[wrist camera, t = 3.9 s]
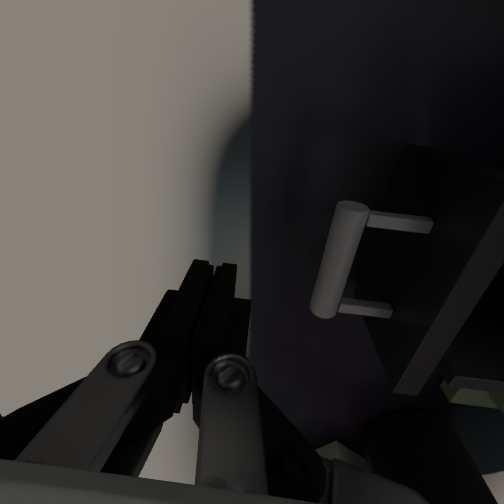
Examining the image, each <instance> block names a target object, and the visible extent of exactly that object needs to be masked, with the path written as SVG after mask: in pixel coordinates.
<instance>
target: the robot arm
mask: <svg viewBox="0 0 504 504" xmlns="http://www.w3.org/2000/svg"><path fill="white" fill-rule="evenodd" d="M213 269H214V267H213V265H209V261H204V260H197V259H194V260H193V262H192V264H191V266H190V268H189V270H188V272H187V274H186V276H185V278H184V280H183V282H182V284H181V286H180V288H179V290H178V291H177V290H167V292H166V293H165V295H164V297H163V298H162V300H161V302H160V304H159V306H158V307H157V309H156V311H155V313H154V315H153V316H152V318H151V320H150V322H149V323H148V325H147V327H146V329H145V330H144V332H143V334H142V336H141V338H140V339H139V341H138V340H135V341H128V342H125V343H121V344H119V345H117V346H116V347H114V348H112V349H111V350H110V351H109V352H108V353H107V354H106V355H105V356H104V357H103V359H102V360H101V361H100V362H99V363H98V364H97V365H96V367H95V368H94V369H93V370H92V371H91V372H90V373H89V375H88V376H87V377H84V378H82V379H80V380H78V381H76V382H74V383H72V384H69V385H67V386H65V387H63V388H61V389H59V390H57V391H55V392H53V393H51V394H48V395H46V396H44V397H42V398H40V399H38V400H36V401H34V402H32V403H30V404H27V405H25V406H23V407H21V408H19V409H17V410H15V411H14V412H12V413H10V414H9V415H7V416H5V417H2V416H1V414H0V504H429V503H428V502H427V501H426V500H425V499H424V498H423V497H422V496H421V495H420V494H419V493H418V492H416V491H414V490H413V489H411V488H409V487H407V486H405V485H402V484H400V483H397V482H395V481H392V480H390V479H387V478H385V477H382V476H380V475H377V474H374V473H372V472H369V471H367V470H364V469H362V468H359V467H357V466H354V465H352V464H349V463H347V462H344V461H342V460H339V459H337V458H333V460H329V459H327V458H324V457H322V456H319V454H318V453H317V451H316V450H315V448H314V447H313V446H312V445H311V444H310V443H309V442H308V441H307V440H306V438H305V437H304V436H303V435H302V434H301V433H300V432H299V431H298V430H297V429H296V427H295V426H294V425H293V424H292V423H291V422H290V421H289V420H288V419H287V417H286V416H285V415H284V414H283V413H282V412H281V411H280V410H279V409H278V408H277V406H276V405H275V404H274V403H273V402H272V401H271V400H270V399H269V398H268V397H267V395H266V394H265V393H264V392H263V391H262V390H261V389H260V388H259V387H258V386H257V376H256V371H255V367H254V365H253V364H252V362H251V361H250V360H249V359H248V358H246V357H245V354H246V346H247V337H248V328H249V319H250V311H251V302H252V300H249V299H241V298H234V296H235V284H236V272H237V264H229V263H223V264H222V266H217V268H216V270H215V273H214V276H213ZM191 392H192V404H193V420H194V421H195V423H196V425H197V426H198V428H199V441H198V454H197V465H196V477H195V485H191V484H183V483H176V482H169V481H162V480H154V479H147V478H140V477H138V476H139V474H140V472H141V470H142V468H143V466H144V464H145V462H146V460H147V458H148V456H149V454H150V452H151V450H152V448H153V446H154V444H155V442H156V439H157V438H158V436H159V434H160V432H161V429H162V426H163V422H165V421H166V420H168V419H169V418H171V417H172V416H173V413H180V410H181V406H182V403H188V402H189V399H190V395H191Z"/></svg>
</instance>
